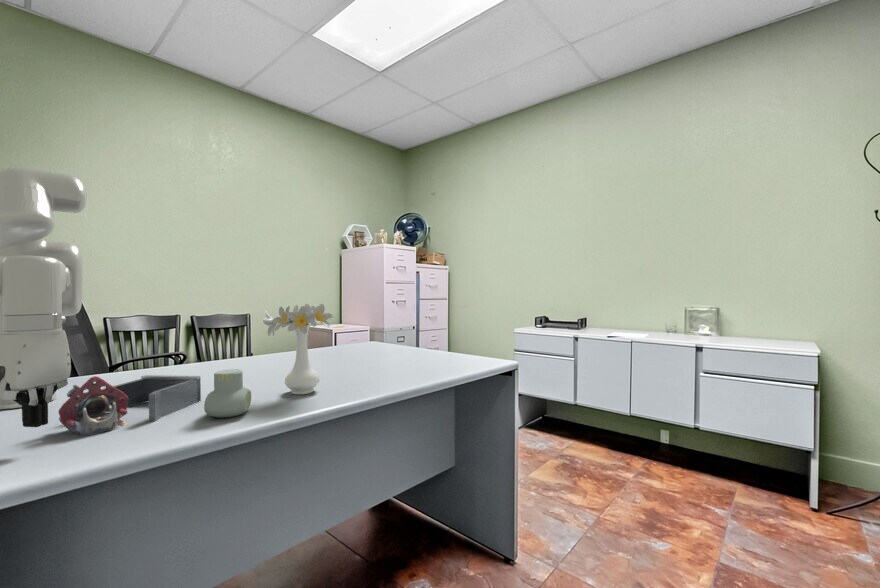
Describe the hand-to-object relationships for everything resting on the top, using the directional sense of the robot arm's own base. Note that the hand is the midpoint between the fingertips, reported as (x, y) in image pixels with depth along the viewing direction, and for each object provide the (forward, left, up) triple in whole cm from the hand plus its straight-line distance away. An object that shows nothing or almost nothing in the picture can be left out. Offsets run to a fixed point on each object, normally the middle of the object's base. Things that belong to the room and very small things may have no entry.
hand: (35, 425), depth 72 cm
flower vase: (+30, +43, -5) cm, 53 cm away
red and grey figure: (-1, +12, -5) cm, 13 cm away
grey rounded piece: (+22, +23, -5) cm, 32 cm away
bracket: (0, +25, -5) cm, 25 cm away
